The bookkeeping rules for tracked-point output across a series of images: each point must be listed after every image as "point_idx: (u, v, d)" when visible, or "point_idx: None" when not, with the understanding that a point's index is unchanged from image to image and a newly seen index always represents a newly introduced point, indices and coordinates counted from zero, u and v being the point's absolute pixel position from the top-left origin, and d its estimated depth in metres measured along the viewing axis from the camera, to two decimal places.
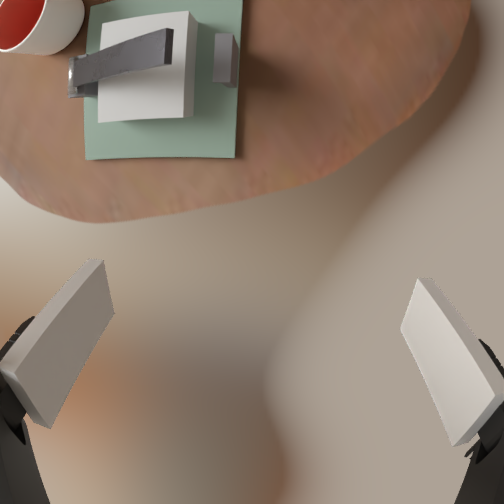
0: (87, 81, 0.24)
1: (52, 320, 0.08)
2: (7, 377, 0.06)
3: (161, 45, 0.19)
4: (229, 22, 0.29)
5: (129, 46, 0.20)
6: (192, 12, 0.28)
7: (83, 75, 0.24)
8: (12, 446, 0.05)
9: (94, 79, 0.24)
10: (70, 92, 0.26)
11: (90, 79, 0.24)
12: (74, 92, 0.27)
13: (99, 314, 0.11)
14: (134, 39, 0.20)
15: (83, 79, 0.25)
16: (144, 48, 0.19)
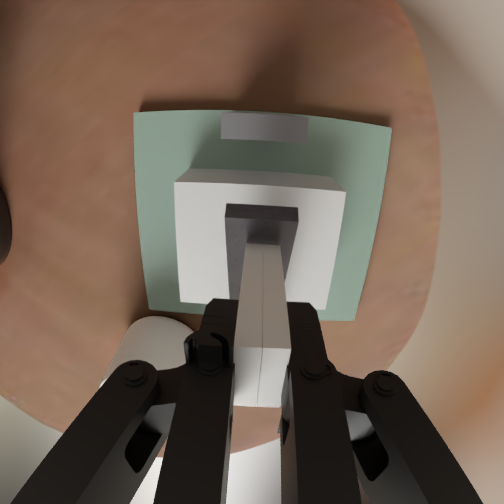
0: None
1: (262, 296, 0.10)
2: (242, 356, 0.08)
3: (258, 225, 0.13)
4: (190, 125, 0.24)
5: (241, 275, 0.16)
6: (172, 176, 0.26)
7: None
8: (227, 449, 0.06)
9: None
10: None
11: None
12: None
13: None
14: (230, 268, 0.16)
15: None
16: None
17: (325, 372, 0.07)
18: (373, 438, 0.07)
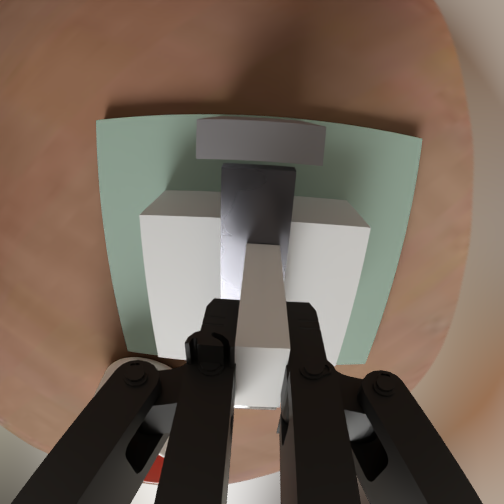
0: None
1: (263, 296, 0.10)
2: (242, 356, 0.08)
3: (255, 178, 0.12)
4: (166, 134, 0.18)
5: (235, 265, 0.14)
6: (145, 201, 0.20)
7: None
8: (228, 449, 0.06)
9: None
10: None
11: None
12: None
13: None
14: (224, 251, 0.14)
15: None
16: (251, 223, 0.13)
17: (324, 372, 0.07)
18: (372, 438, 0.07)
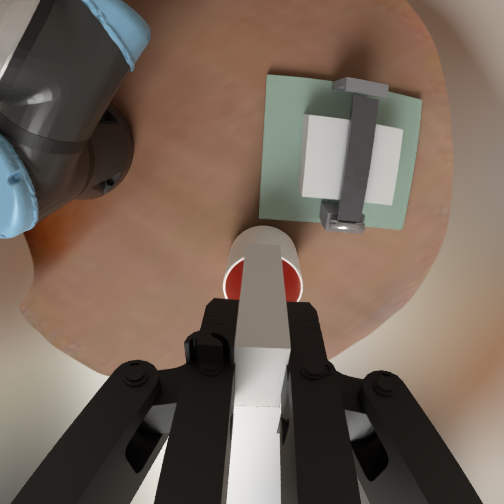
0: (364, 195, 0.36)
1: (262, 297, 0.10)
2: (242, 356, 0.08)
3: (365, 100, 0.30)
4: (306, 87, 0.36)
5: (355, 134, 0.32)
6: (292, 118, 0.38)
7: (356, 202, 0.36)
8: (227, 449, 0.06)
9: (366, 183, 0.35)
10: (363, 225, 0.37)
11: (364, 189, 0.35)
12: (363, 223, 0.38)
13: None
14: (351, 128, 0.32)
15: (359, 202, 0.36)
16: (362, 117, 0.31)
17: (324, 372, 0.07)
18: (373, 438, 0.07)
